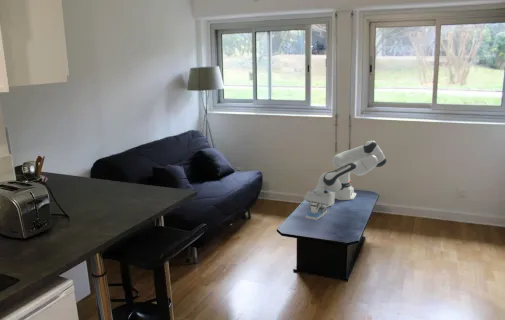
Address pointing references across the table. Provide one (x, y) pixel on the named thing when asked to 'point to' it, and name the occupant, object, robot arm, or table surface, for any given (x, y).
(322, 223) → the table surface
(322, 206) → the cable organizer
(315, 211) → the plug
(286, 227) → the table surface
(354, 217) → the table surface
